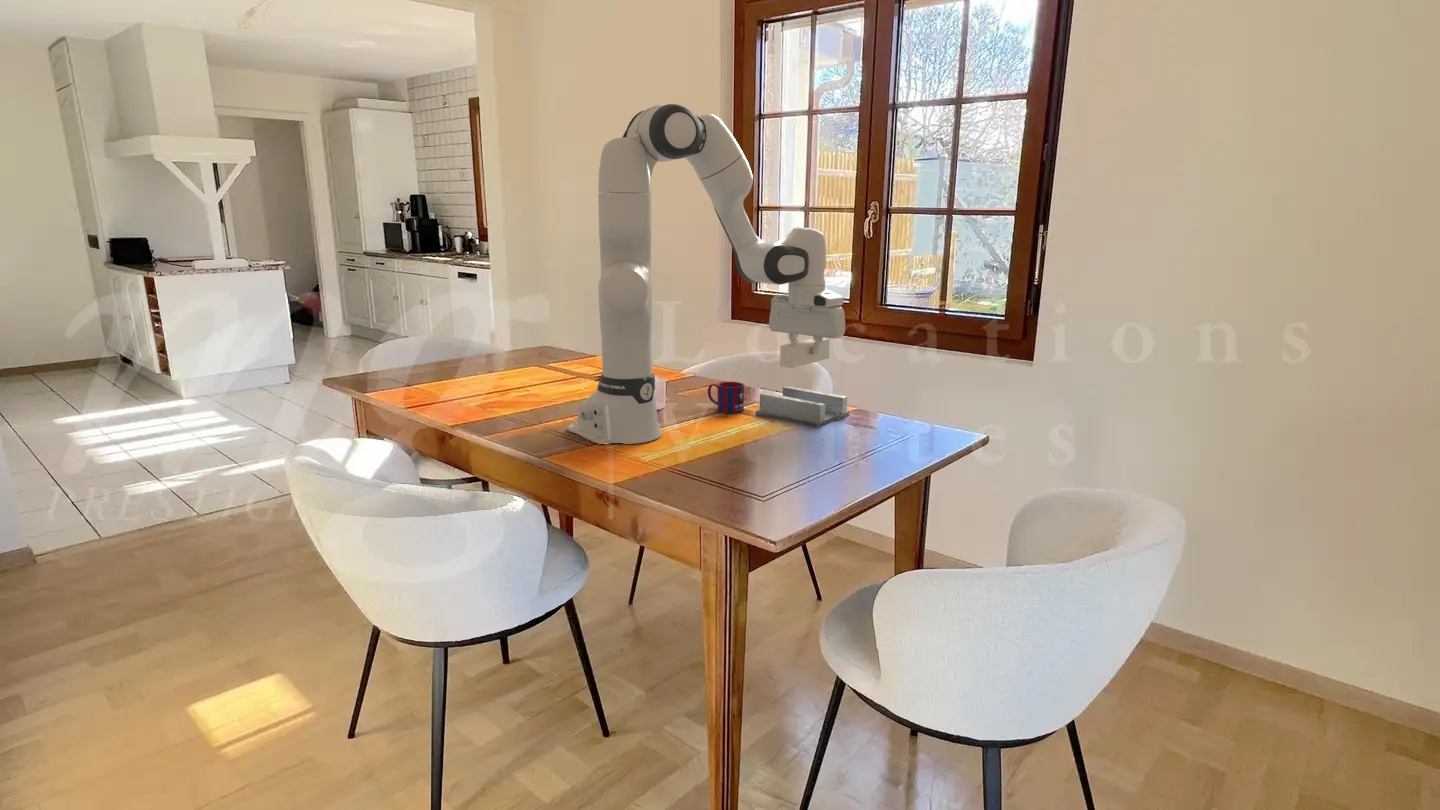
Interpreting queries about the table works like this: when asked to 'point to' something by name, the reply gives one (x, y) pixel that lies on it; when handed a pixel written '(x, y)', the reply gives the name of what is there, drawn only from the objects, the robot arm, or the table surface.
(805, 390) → the grey channel stand
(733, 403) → the mug
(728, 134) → the robot arm
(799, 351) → the clay strip
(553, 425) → the table surface
